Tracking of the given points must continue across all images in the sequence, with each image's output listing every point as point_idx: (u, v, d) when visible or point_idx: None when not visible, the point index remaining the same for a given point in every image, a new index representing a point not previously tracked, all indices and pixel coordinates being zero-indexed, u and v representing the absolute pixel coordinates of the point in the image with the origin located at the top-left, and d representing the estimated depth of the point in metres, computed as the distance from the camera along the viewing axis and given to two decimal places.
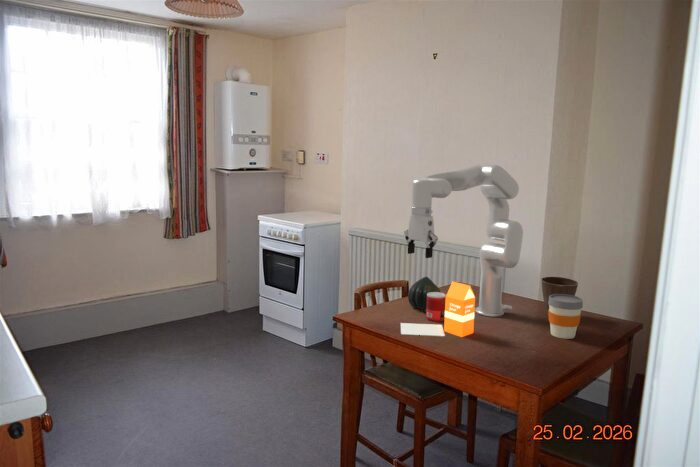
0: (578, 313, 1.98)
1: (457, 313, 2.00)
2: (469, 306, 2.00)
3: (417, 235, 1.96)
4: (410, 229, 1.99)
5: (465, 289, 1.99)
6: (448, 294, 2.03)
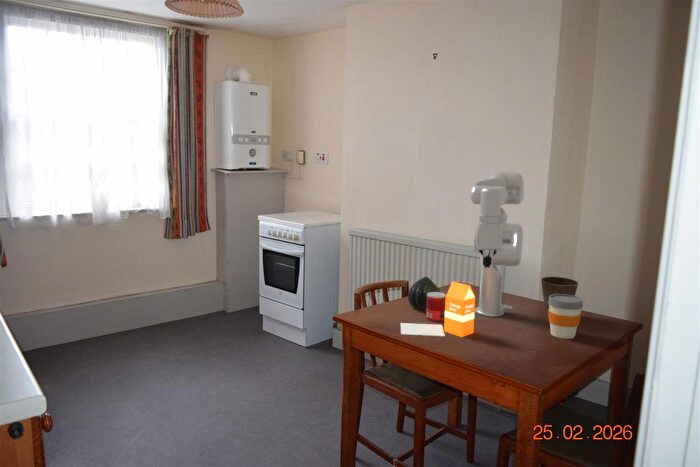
0: (578, 313, 1.98)
1: (457, 313, 2.00)
2: (469, 306, 2.00)
3: (491, 244, 1.96)
4: (480, 239, 1.96)
5: (465, 289, 1.99)
6: (448, 294, 2.03)
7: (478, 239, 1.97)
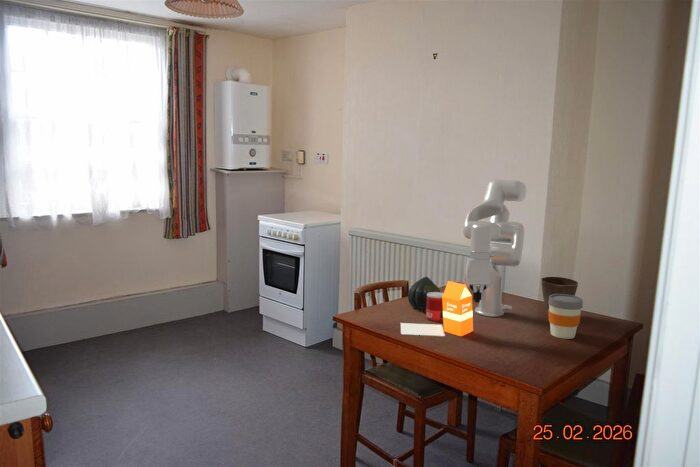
0: (578, 313, 1.98)
1: (454, 313, 2.00)
2: (466, 305, 2.00)
3: (481, 279, 1.98)
4: (471, 274, 1.98)
5: (460, 288, 1.99)
6: (444, 294, 2.03)
7: (468, 274, 1.98)
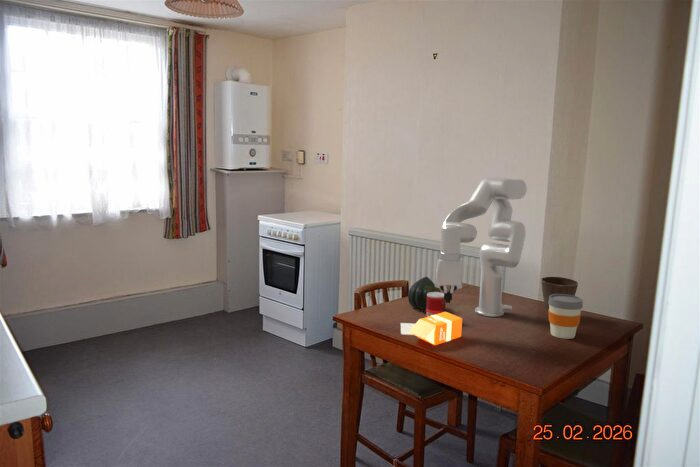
0: (578, 313, 1.98)
1: None
2: (441, 332, 1.91)
3: (451, 280, 2.00)
4: (441, 275, 2.00)
5: (425, 339, 1.89)
6: (418, 337, 1.96)
7: (438, 275, 2.00)
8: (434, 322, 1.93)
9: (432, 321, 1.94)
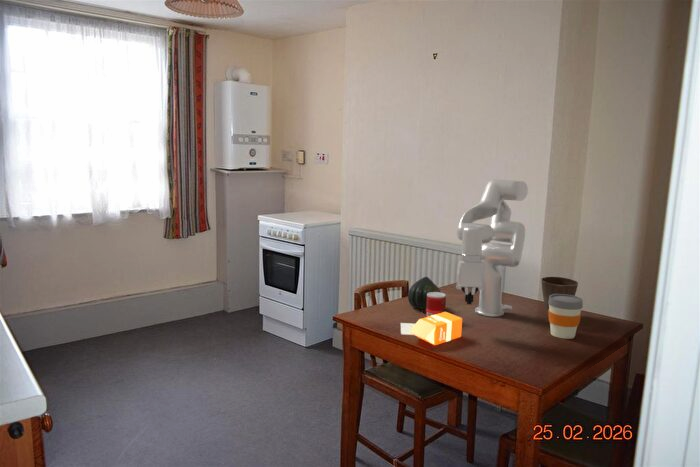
0: (578, 313, 1.98)
1: None
2: (441, 333, 1.91)
3: (472, 282, 1.99)
4: (462, 277, 2.00)
5: (425, 339, 1.89)
6: (418, 337, 1.96)
7: (460, 277, 2.00)
8: (434, 322, 1.93)
9: (432, 321, 1.94)
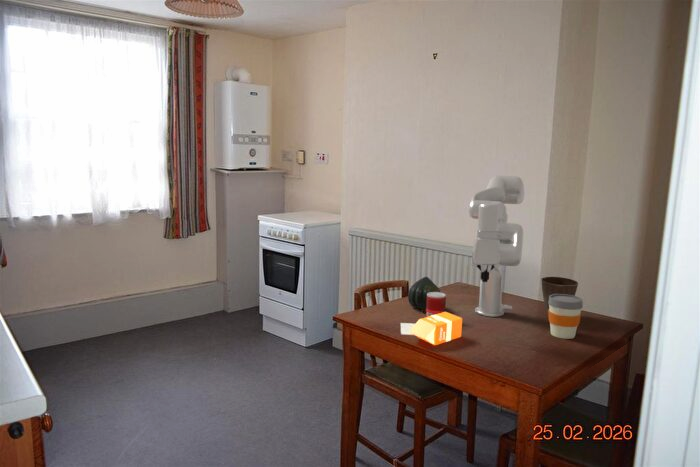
0: (578, 313, 1.98)
1: None
2: (441, 333, 1.91)
3: (488, 259, 1.97)
4: (478, 254, 1.97)
5: (425, 339, 1.89)
6: (418, 337, 1.96)
7: (476, 254, 1.98)
8: (434, 322, 1.93)
9: (432, 321, 1.94)
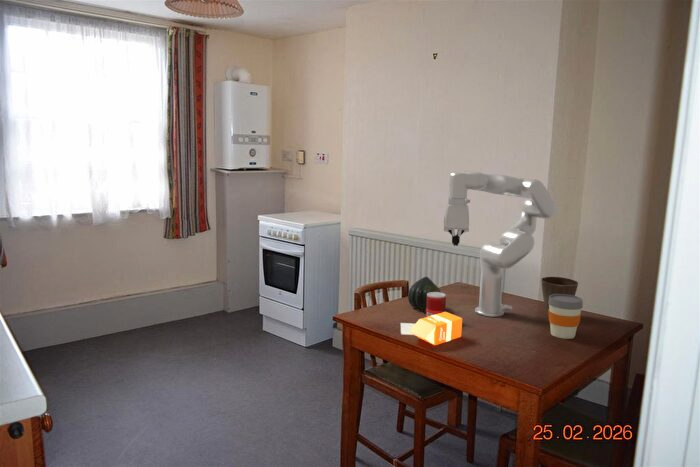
0: (578, 313, 1.98)
1: None
2: (441, 333, 1.91)
3: (458, 224, 2.14)
4: (449, 219, 2.14)
5: (425, 339, 1.89)
6: (418, 337, 1.96)
7: (447, 219, 2.15)
8: (434, 322, 1.93)
9: (432, 321, 1.94)
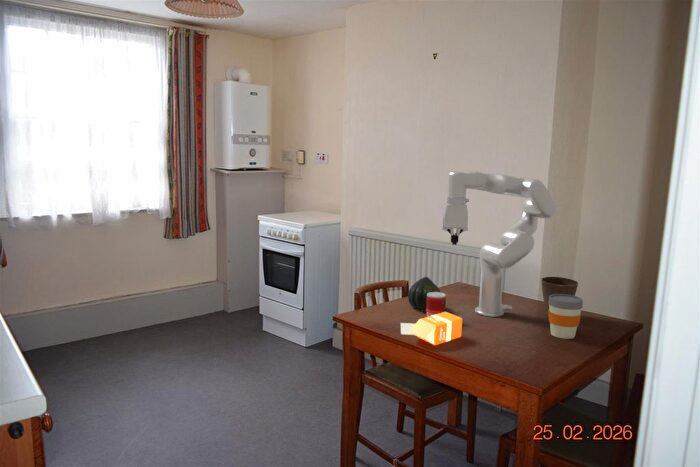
0: (578, 313, 1.98)
1: None
2: (441, 333, 1.91)
3: (457, 223, 2.15)
4: (448, 218, 2.15)
5: (425, 339, 1.89)
6: (418, 337, 1.96)
7: (446, 219, 2.15)
8: (434, 322, 1.93)
9: (432, 321, 1.94)
